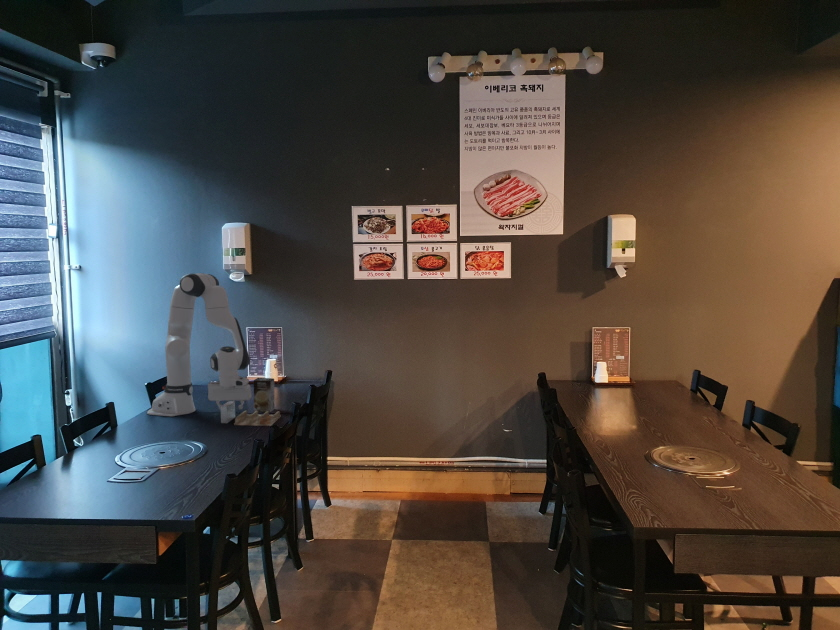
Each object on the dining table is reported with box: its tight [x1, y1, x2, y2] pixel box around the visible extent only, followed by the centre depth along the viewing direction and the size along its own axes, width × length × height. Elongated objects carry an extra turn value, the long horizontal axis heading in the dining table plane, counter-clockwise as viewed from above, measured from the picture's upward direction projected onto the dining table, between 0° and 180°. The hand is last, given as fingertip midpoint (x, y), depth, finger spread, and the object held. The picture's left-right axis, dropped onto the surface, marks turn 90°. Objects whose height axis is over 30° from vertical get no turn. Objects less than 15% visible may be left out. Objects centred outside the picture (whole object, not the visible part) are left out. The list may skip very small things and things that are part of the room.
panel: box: [220, 401, 236, 424], centre depth 283 cm, size 3×10×8 cm, turn 176°
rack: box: [233, 410, 282, 427], centre depth 282 cm, size 17×15×3 cm
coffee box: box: [253, 377, 276, 413], centre depth 300 cm, size 9×6×16 cm
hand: (230, 409), depth 284 cm, fingers open, 8 cm apart
